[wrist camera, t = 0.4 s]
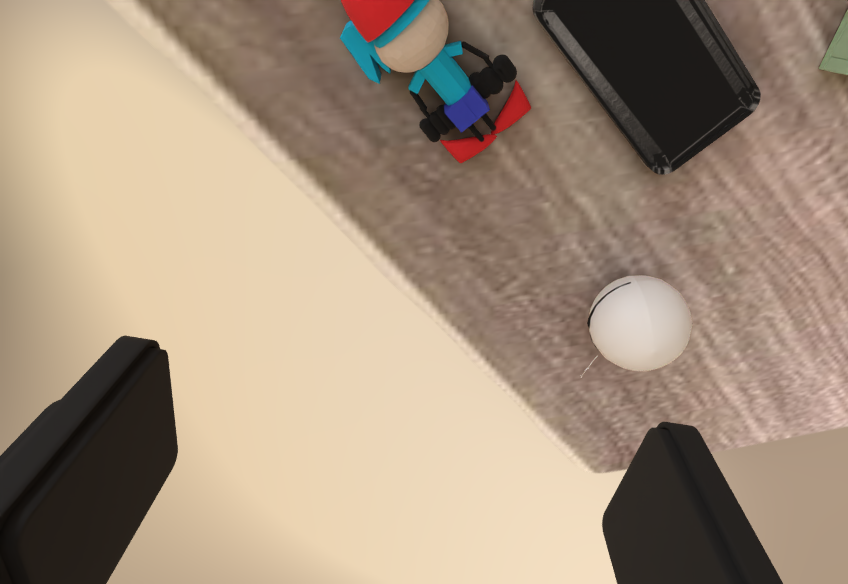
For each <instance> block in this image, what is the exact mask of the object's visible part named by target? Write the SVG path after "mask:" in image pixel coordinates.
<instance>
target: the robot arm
mask: <svg viewBox="0 0 848 584" xmlns="http://www.w3.org/2000/svg"><path fill="white" fill-rule="evenodd" d="M177 453H178V445H177V436H176V427H175V417H174V408H173V398H172V389H171V379H170V370H169V361H168V354H167V352H166V350H162V349H160V347H159V344H158V342H157V341H155V340H148V339H142V338H137V337H130V336H122V337H120V338H119V339H118V340H116V342H115V343H114V344H113V345H112V346H111V347H110V348H109V349H108V350H107V351H106V352H105V353H104V354H103V355H102V356H101V357H100V359H98V361H97V362H96V363H95V364H94V365H93V366H92V367H91V368H90V369H89V370H88V371H87V372H86V373H85V374H84V375H83V377H82V378H81V379H80V380H79V381H78V382H77V383H76V384H75V385H74V386H73V387H72V388H71V389H70V390H69V391H68V392H67V394H65V396H64V397H63V398H62V399H61V400H58V401H56V402H54V403H52V404H51V405H50V406H48V407H47V408H46V409H45V410H44V411H43V412H42V413H41V414H40V415H39V416H38V417H37V418H36V419H35V420H34V421H33V422H32V423H31V424H30V426H29V427H28V428H27V429H26V430H25V431H24V432H23V433H22V434H21V435H20V436H19V437H18V438H17V439H16V440H15V441H14V442H13V443H12V444H11V445H10V446H9V448H7V450H6V451H5V452H4V453H3V454H2V455H1V456H0V584H106V583H107V581H108V580H109V578H110V576H111V574H112V573H113V571H114V569H115V567H116V566H117V564H118V562H119V560H120V559H121V557H122V555H123V554H124V552H125V550H126V548H127V547H128V545H129V543H130V541H131V540H132V538H133V536H134V535H135V533H136V531H137V529H138V528H139V526H140V524H141V522H142V521H143V519H144V517H145V515H146V514H147V512H148V510H149V508H150V507H151V505H152V503H153V502H154V500H155V498H156V496H157V495H158V493H159V491H160V490H161V488H162V486H163V484H164V482H165V481H166V479H167V477H168V475H169V474H170V472H171V470H172V469H173V466H174V464H175V462H176V458H177ZM602 527H603V533H604V537H605V541H606V544H607V548H608V551H609V555H610V559H611V562H612V566H613V569H614V573H615V577H616V580H617V584H783V583H782V581H781V579H780V577H779V575H778V573H777V572H776V570H775V568H774V566H773V565H772V563H771V561H770V559H769V557H768V555H767V554H766V552H765V550H764V548H763V546H762V545H761V543H760V541H759V539H758V537H757V536H756V534H755V532H754V530H753V528H752V527H751V525H750V523H749V521H748V519H747V518H746V516H745V514H744V512H743V510H742V508H741V507H740V505H739V503H738V501H737V499H736V498H735V496H734V494H733V492H732V490H731V489H730V487H729V485H728V483H727V481H726V480H725V478H724V476H723V474H722V472H721V471H720V469H719V467H718V465H717V463H716V462H715V460H714V458H713V456H712V454H711V453H710V451H709V449H708V447H707V445H706V443H705V442H704V440H703V438H702V436H701V434H700V433H699V431H698V430H697V429H696V428H695V427H693V426H689V425H683V424H676V423H670V422H662V423H660V424H659V425H658V426H657V427H656V428H651V429H650V430H649V431H648V432H647V434H646V436H645V438H644V440H643V442H642V443H641V445H640V447H639V449H638V451H637V453H636V455H635V456H634V458H633V460H632V462H631V464H630V466H629V468H628V469H627V471H626V473H625V475H624V477H623V479H622V481H621V483H620V484H619V486H618V488H617V490H616V492H615V494H614V496H613V498H612V500H611V501H610V503H609V505H608V507H607V509H606V511H605V513H604V515H603V522H602Z"/></svg>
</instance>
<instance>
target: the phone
mask: <svg viewBox="0 0 848 584" xmlns="http://www.w3.org/2000/svg"><path fill="white" fill-rule="evenodd" d="M533 14H534V16H535V18H536V20H537V21H538V23H539V24H540V25H541V27H542V28H543V29H544V31H545V32H546V33H547V35H548V36H549V37H550V38H551V40H552V41H553V42H554V44H555V45H556V46H557V48H558V49H559V50H560V52H561V53H562V54H563V56H564V57H565V58H566V60H567V61H568V62H569V64H570V65H571V66H572V68H573V69H574V70H575V72H576V73H577V74H578V76H579V77H580V78H581V79H582V81H583V82H584V83H585V85H586V86H587V87H588V89H589V90H590V91H591V93H592V94H593V95H594V97H595V98H596V99H597V101H598V102H599V103H600V105H601V106H602V107H603V109H604V110H605V111H606V113H607V114H608V115H609V117H610V118H611V119H612V121H613V122H614V123H615V124H616V126H617V127H618V128H619V130H620V131H621V132H622V134H623V135H624V136H625V138H626V139H627V140H628V142H629V143H630V144H631V146H632V147H633V148H634V150H635V151H636V152H637V154H638V155H639V156H640V158H641V159H642V160H643V162H644V163H645V164H646V165H647V166H648V167H649V168H650V169H651V170H652V171H653V172H655V173H657V174H668V173H671V172H673V171H675V170H676V169H677V168H679V167H680V166H681V165H683V164H684V163H685V162H687V161H688V160H690V159H691V158H692V157H694V156H695V155H696V154H698V153H699V152H700V151H702V150H703V149H704V148H706V147H707V146H708V145H710V144H711V143H713V142H714V141H715V140H717V139H718V138H719V137H721V136H722V135H723V134H725V133H726V132H727V131H729V130H730V129H731V128H733V127H734V126H736V125H737V124H738V123H740V122H741V121H742V120H744V119H745V118H746V117H748V116H749V115H750V114H751V113H752V112H754V111H755V109H756V108H757V106H758V105H759V102H760V91H759V88H758V86H757V85H756V83H755V81H754V80H753V78H752V77H751V75H750V73H749V72H748V70H747V68H746V67H745V65H744V64H743V62H742V60H741V59H740V57H739V55H738V54H737V52H736V50H735V49H734V47H733V46H732V44H731V42H730V41H729V39H728V37H727V36H726V34H725V33H724V31H723V29H722V28H721V26H720V24H719V23H718V21H717V19H716V18H715V16H714V15H713V13H712V11H711V10H710V8H709V6H708V5H707V3H706V2H705V0H534V1H533Z"/></svg>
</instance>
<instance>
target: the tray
mask: <svg viewBox="0 0 848 584" xmlns="http://www.w3.org/2000/svg"><path fill="white" fill-rule="evenodd" d="M819 69H821V70H825V71H830V72H834V73H839V74H843V75H848V10H847V12H846V14H845V16H844V18H843V20H842V22H841V24H840V26H839V28H838V30H837V32H836V34H835V36H834V38H833V40H832V42H831V44H830V46H829V48H828V50H827V52H826V54H825V56H824V58H823V60H822V62H821V64H820V67H819Z"/></svg>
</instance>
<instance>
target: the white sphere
mask: <svg viewBox="0 0 848 584" xmlns="http://www.w3.org/2000/svg"><path fill="white" fill-rule="evenodd" d="M587 324H588V326H589V331H590V336H591V339H592V342H593V344H594V345H595V347H596V348H597V349H598V350H599V351H600V352H601V353H602V355H603V356H604V357H605V358H606V359H607V360H609V361H611V362H612V363H614V364H616V365H618V366H620V367H622V368H624V369H629V370H633V371H650V370H654V369H657V368H661V367H663V366H665V365H667V364H669V363H671V362H673V361H674V360H675V359H676V358H677V357H678V356H679V355H680V354H682V352H683V351H684V349H685V348H686V346H687V344H688V342H689V338H690V333H691V328H692V324H693V323H692V318H691V312H690V310H689V307H688V304H687V302H686V301H685V299H684V298H683V296H682V295H681V294H680V292H679V291H677V290H676V289H675V288H674V287H672V286H671V285H669V284H668V283H666V282H665V281H663V280H662V279H659V278H655V277H651V276H644V275H637V276H627V277H623V278H620V279H617V280H615V281H613V282H612V283H610V284H609V285H607V286H606V287H605V288H604V289H603V290H602V291H601V292H600V293H599V294H598V295H597V297H596V299H595V300H594V303H593V305H592V307H591V309H590V312H589V318H588V323H587ZM597 356H598V355H597ZM597 356H596V357H597ZM595 359H596V358H595ZM595 359H594V360H595ZM594 360H593V361H594ZM593 361H592V362H593ZM591 364H592V363H591ZM591 364H590V365H591ZM590 365H589V366H590ZM588 368H589V367H588ZM588 368H587V369H588ZM587 369H586V370H587ZM586 370H585V371H586ZM584 373H585V372H584ZM584 373H583V374H584ZM583 374H582V375H583ZM581 377H582V376H581ZM581 377H580V378H581Z"/></svg>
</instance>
